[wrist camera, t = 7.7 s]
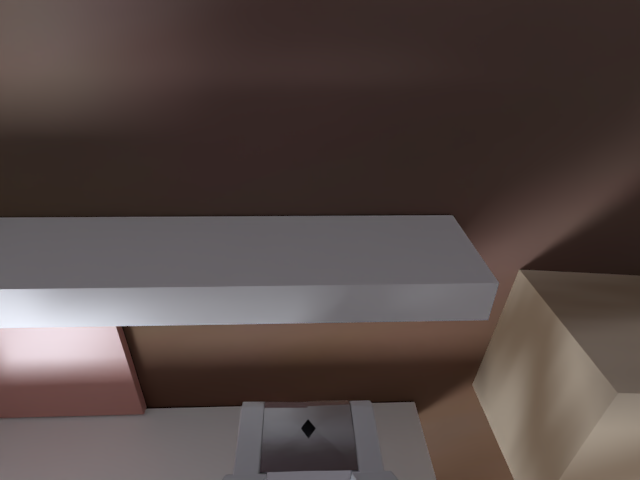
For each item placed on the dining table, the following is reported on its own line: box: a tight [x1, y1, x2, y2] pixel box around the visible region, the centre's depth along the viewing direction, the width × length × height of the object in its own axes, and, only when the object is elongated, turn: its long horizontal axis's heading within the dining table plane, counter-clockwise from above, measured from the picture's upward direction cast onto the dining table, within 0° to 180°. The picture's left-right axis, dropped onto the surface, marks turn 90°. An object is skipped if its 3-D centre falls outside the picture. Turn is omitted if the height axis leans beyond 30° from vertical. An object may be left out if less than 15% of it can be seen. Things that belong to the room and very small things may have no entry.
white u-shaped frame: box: [0, 215, 499, 480], centre depth 12 cm, size 9×16×3 cm, turn 89°
